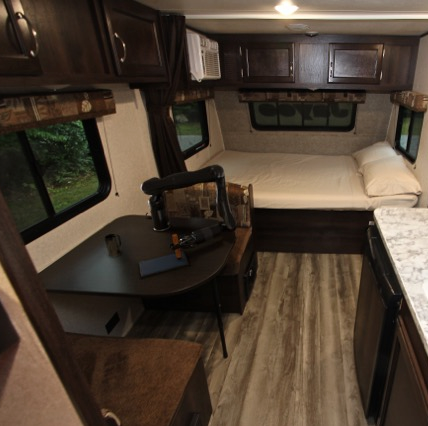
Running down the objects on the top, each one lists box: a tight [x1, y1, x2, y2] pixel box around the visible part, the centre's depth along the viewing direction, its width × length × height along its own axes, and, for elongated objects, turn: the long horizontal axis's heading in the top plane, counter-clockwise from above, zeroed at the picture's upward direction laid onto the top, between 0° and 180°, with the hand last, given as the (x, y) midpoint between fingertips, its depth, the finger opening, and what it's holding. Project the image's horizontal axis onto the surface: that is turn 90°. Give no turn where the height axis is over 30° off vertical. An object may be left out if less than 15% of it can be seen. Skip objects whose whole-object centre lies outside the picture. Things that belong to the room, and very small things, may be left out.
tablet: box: [138, 250, 190, 279], centre depth 150 cm, size 14×22×1 cm, turn 120°
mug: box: [104, 233, 122, 258], centre depth 156 cm, size 8×6×12 cm
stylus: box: [171, 233, 182, 260], centre depth 151 cm, size 2×2×14 cm
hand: (171, 247), depth 148 cm, fingers closed on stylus, 2 cm apart
